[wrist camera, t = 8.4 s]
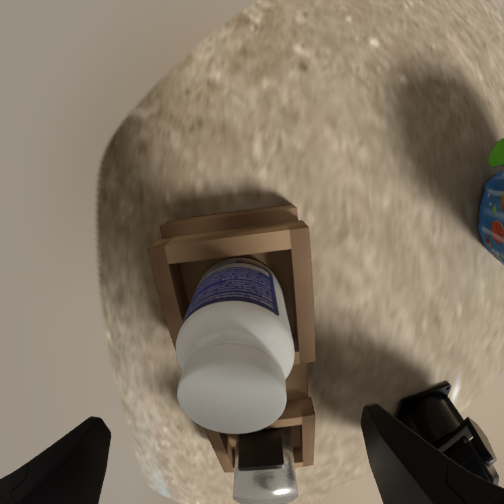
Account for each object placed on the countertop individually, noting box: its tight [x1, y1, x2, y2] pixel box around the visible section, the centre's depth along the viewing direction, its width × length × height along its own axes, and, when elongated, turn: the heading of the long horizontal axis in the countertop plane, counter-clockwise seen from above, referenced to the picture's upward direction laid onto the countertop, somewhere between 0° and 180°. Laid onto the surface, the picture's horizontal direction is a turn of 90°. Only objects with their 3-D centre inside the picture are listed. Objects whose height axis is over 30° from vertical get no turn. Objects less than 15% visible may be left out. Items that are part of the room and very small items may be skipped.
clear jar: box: [233, 426, 298, 504], centre depth 18 cm, size 5×5×7 cm
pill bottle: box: [176, 258, 295, 434], centre depth 13 cm, size 5×5×9 cm
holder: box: [148, 204, 315, 472], centre depth 19 cm, size 8×24×4 cm, turn 7°
